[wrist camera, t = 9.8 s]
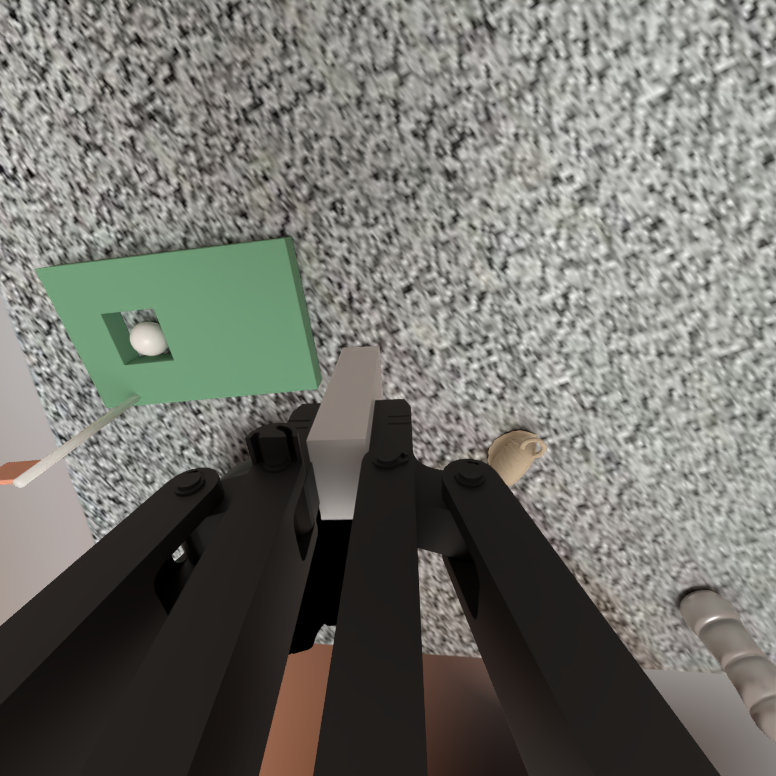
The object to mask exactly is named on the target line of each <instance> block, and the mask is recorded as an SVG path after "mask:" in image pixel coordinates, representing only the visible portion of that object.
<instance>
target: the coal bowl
mask: <svg viewBox="0 0 776 776" xmlns="http://www.w3.org/2000/svg"><path fill="white" fill-rule="evenodd" d="M252 465H253V464H252V460H251V458H249V459H247V460H245V461H243V462H242V463H240V464H238V465H237V466H236V467H234V468H233V469H231V470H230V471H229V472H228V473H226V474H225V475H224V476H223V477H222V478H221V479H220V480H223V479H228V478H232V477H236V476H240V475H243V474H246V473H248V472H249V470H250V468H251V466H252ZM352 521H353V519H338V520H322V519H321V514H320V509H319V508H318V512H317V516H316V523H317V528H318V536H317V540H316V544H315V548H314V552H313V556H312V560H311V564H310V568H309V573H308V577H307V581H306V585H305V589H304V593H303V597H302V601H301V605H300V609H299V613H298V617H297V622H296V626H295V630H294V634H293V638H292V642H291V646H290V650H289V654H291V653H293V654H294V653H298V652H302V651H305V650H308V649H310V648H311V647H312V646H313V644H314V641H315V638H316V635H317V633H318V631H319V630H320V628H321V627H322V626H323V624H326V625H327V626H334V625H337V618H338V612H339V605H340V599H341V592H342V586H343V579H344V573H345V566H346V560H347V553H348V547H349V540H350V534H351V527H352ZM289 654H288V655H289Z"/></svg>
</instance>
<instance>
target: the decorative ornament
mask: <svg viewBox="0 0 776 776" xmlns="http://www.w3.org/2000/svg"><path fill="white" fill-rule="evenodd" d="M536 437H537V435H536V434H533V433H530V432H526V431H522V430H518V431H511V432H510V433H507V434H503V435H502V436H501V437H499V438H497V439H495V440H494V442H493V444H492V445H491V446H490V448H489V451H488V453H489V457H488V459H487V461H488V462H489V465H490V466H491V467H492V468H494V469H495V470H496V471H497V473H498V474H499V475H500V477H501V478H502V479H503V481H504V482H505V483H506V485H507V486H510V485H512V484H514V483H515V482H517V481H518V480H519V479H520V478H521V477H522V476H523V475H524V473H525V472H526V471H527V470H528V469H529V467H530V466H531V464H532V462H533V460H534V458H539V457H541V456H542V455H544V453H545V452H546V449H547V447H546V444H545V442H544V441H542V440H541V439H539V438H536ZM535 442H536V443H539V444H540V445H541V450H540V451H539V452H536V443H535Z"/></svg>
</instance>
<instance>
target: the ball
mask: <svg viewBox="0 0 776 776" xmlns="http://www.w3.org/2000/svg"><path fill="white" fill-rule="evenodd" d="M130 343H131V345H132V347H133V348H134V349H135V350H136V351H137V352H139V353H141V354H143V355H148V356H155V355H159V354H161V353H163V352H164V351H165V350H166V349H167V348H168V344H167V341H166V339H165V336H164V334H163V331H162V329H161V326H160V324H158V323H155V322H142V323H139V324H137V325H136V326H135V327H134V328H133V329H132V330H131V332H130Z"/></svg>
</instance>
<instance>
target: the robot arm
mask: <svg viewBox="0 0 776 776" xmlns="http://www.w3.org/2000/svg"><path fill="white" fill-rule="evenodd" d="M288 421H289V422H287V423H274V424H268V425H265V426H262V427H259V428H257V429H256V430H254V431H252V432H251V433H250V434H249V435H248V436H247V437H246V438H245V439H246V442H247V446H248V450H249V453H250V457H251V460H252V464H253V465H252V466H251V468H250V470H249V472H248V473H246V474H243V475H240V476H236V477H232V478H228V479H223V480H220V477H219V475H218V473H217V472H216V471H215V470H213V469H210V468H196V469H191V470H188V471H186V472H183V473H181V474H179V475H177V476H175V477H174V478H173V479H171V480H170V481H168V482H167V483H166V484H165V485H164V486H162V487H161V488H160V489H159V490H158V491H157V492H155V493H154V494H153V495H152V496H151V497H150V498H148V499H147V500H146V501H145V502H144V503H143V504H142V505H140V506H139V507H138V508H137V509H136V510H135V511H133V512H132V513H131V514H130V515H129V516H128V517H126V518H125V519H124V520H123V521H122V522H121V523H119V524H118V525H117V526H116V527H115V528H114V529H112V530H111V531H110V532H109V533H108V534H107V535H106V536H104V537H103V538H102V539H101V540H100V541H99V542H97V543H96V544H95V545H94V546H93V547H92V548H90V549H89V550H88V551H87V552H86V553H85V554H84V555H82V556H81V557H80V558H79V559H78V560H76V561H75V562H74V563H73V564H72V565H71V566H70V567H68V568H67V569H66V570H65V571H64V572H63V573H61V574H60V575H59V576H58V577H57V578H56V579H54V580H53V581H52V582H51V583H50V584H49V585H47V586H46V587H45V588H44V589H43V590H42V591H41V592H39V593H38V594H37V595H36V596H35V597H34V598H32V599H31V600H30V601H29V602H28V603H27V604H25V605H24V606H23V607H22V608H21V609H20V610H18V611H17V612H16V613H15V614H14V615H13V616H12V617H10V618H9V619H8V620H7V621H6V622H5V623H3V624H2V625H1V626H0V776H259V773H260V769H261V764H262V760H263V756H264V752H265V748H266V744H267V740H268V736H269V732H270V728H271V724H272V719H273V715H274V711H275V707H276V703H277V699H278V695H279V690H280V686H281V682H282V679H283V674H284V671H285V666H286V662H287V658H288V654H289V650H290V646H291V642H292V638H293V634H294V630H295V626H296V622H297V617H298V613H299V609H300V605H301V601H302V597H303V593H304V589H305V585H306V581H307V577H308V573H309V568H310V564H311V560H312V556H313V552H314V548H315V544H316V540H317V536H318V528H317V523H316V516H317V512H318V508H319V509H320V514H321V519H322V520H338V519H353V521H352V527H351V534H350V540H349V547H348V553H347V560H346V566H345V573H344V579H343V586H342V592H341V599H340V605H339V612H338V618H337V625H336V631H335V638H334V644H333V651H332V657H331V664H330V670H329V677H328V683H327V689H326V697H325V702H324V710H323V715H322V722H321V729H320V735H319V742H318V748H317V755H316V761H315V767H314V774H313V776H428V775H427V752H426V731H425V708H424V687H423V686H424V685H423V663H422V640H421V618H420V595H419V573H418V550H417V547H418V548H421V549H425V550H428V551H432V552H435V553H439V554H442V558H443V561H444V564H445V566H446V569H447V571H448V574H449V576H450V579H451V581H452V584H453V586H454V589H455V591H456V594H457V596H458V599H459V601H460V604H461V606H462V609H463V611H464V614H465V616H466V619H467V621H468V624H469V627H470V629H471V632H472V634H473V637H474V639H475V642H476V644H477V647H478V649H479V652H480V654H481V657H482V659H483V662H484V664H485V666H486V669H487V671H488V674H489V677H490V679H491V681H492V684H493V687H494V689H495V692H496V694H497V697H498V699H499V701H500V704H501V707H502V709H503V712H504V714H505V717H506V719H507V722H508V724H509V727H510V729H511V732H512V734H513V737H514V739H515V742H516V744H517V747H518V749H519V752H520V754H521V757H522V759H523V762H524V764H525V767H526V769H527V772H528V774H529V776H720V774H719V773H718V772H717V770H716V769H715V768H714V766H713V765H712V763H711V762H710V761H709V759H708V758H707V757H706V755H705V754H704V753H703V751H702V750H701V749H700V747H699V746H698V744H697V743H696V742H695V740H694V739H693V738H692V736H691V735H690V733H689V732H688V731H687V730H686V728H685V727H684V726H683V724H682V723H681V722H680V720H679V719H678V717H677V716H676V715H675V713H674V712H673V710H672V709H671V708H670V706H669V705H668V704H667V702H666V701H665V700H664V698H663V697H662V695H661V694H660V693H659V691H658V690H657V689H656V687H655V686H654V685H653V683H652V682H651V680H650V679H649V678H648V676H647V675H646V674H645V672H644V671H643V670H642V668H641V667H640V666H639V664H638V663H637V661H636V660H635V659H634V657H633V656H632V655H631V653H630V652H629V651H628V649H627V648H626V647H625V645H624V644H623V642H622V641H621V640H620V638H619V637H618V636H617V634H616V633H615V632H614V630H613V629H612V627H611V626H610V625H609V623H608V622H607V621H606V619H605V618H604V617H603V615H602V614H601V613H600V611H599V610H598V608H597V607H596V606H595V604H594V603H593V602H592V600H591V599H590V598H589V596H588V595H587V594H586V592H585V591H584V589H583V588H582V587H581V585H580V584H579V583H578V581H577V580H576V579H575V577H574V576H573V574H572V573H571V572H570V570H569V569H568V568H567V566H566V565H565V564H564V562H563V561H562V560H561V558H560V557H559V555H558V554H557V553H556V551H555V550H554V549H553V547H552V546H551V545H550V543H549V542H548V541H547V539H546V538H545V536H544V535H543V534H542V532H541V531H540V530H539V528H538V527H537V526H536V524H535V523H534V521H533V520H532V519H531V517H530V516H529V515H528V513H527V512H526V511H525V509H524V508H523V507H522V505H521V504H520V502H519V501H518V500H517V498H516V497H515V496H514V494H513V493H512V492H511V490H510V489H509V488H508V486H507V485H506V483H505V482H504V481H503V479H502V478H501V477H500V475H499V474H498V473H497V471H496V470H495V469H494V468H492V467H491V466H490V465H489V464H486V463H484V462H482V461H479V460H474V459H459V460H456V461H453V462H451V463H449V464H448V465H447V466H446V467H445V468H444V470H438V469H434V468H431V467H428V466H426V465H424V464H422V463H420V462H419V461H418V460H417V459H416V458H415V456H414V453H413V444H412V424H411V406H410V405H409V404H408V403H407V402H406V401H405V399H394V400H383V390H382V377H381V363H380V350H379V346H374V347H352V348H343V349H342V351H341V354H340V356H339V359H338V362H337V364H336V367H335V369H334V372H333V374H332V377H331V379H330V382H329V384H328V387H327V390H326V392H325V395H324V397H323V400H322V402H321V403H315V404H302V405H301V406H300V407H298V408H297V409H296V410H295V411H293V413H292V415H291V417H290V418H289V420H288ZM180 545H181V546H182V548H183V550H184V553H183V555H182V556H181V557H179V558H178V559H177V560H176V561H174V560H173V558H172V556H171V555H172V554H173V553H174V552H175V551H176V550H177V549H178V548H179V546H180Z"/></svg>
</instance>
